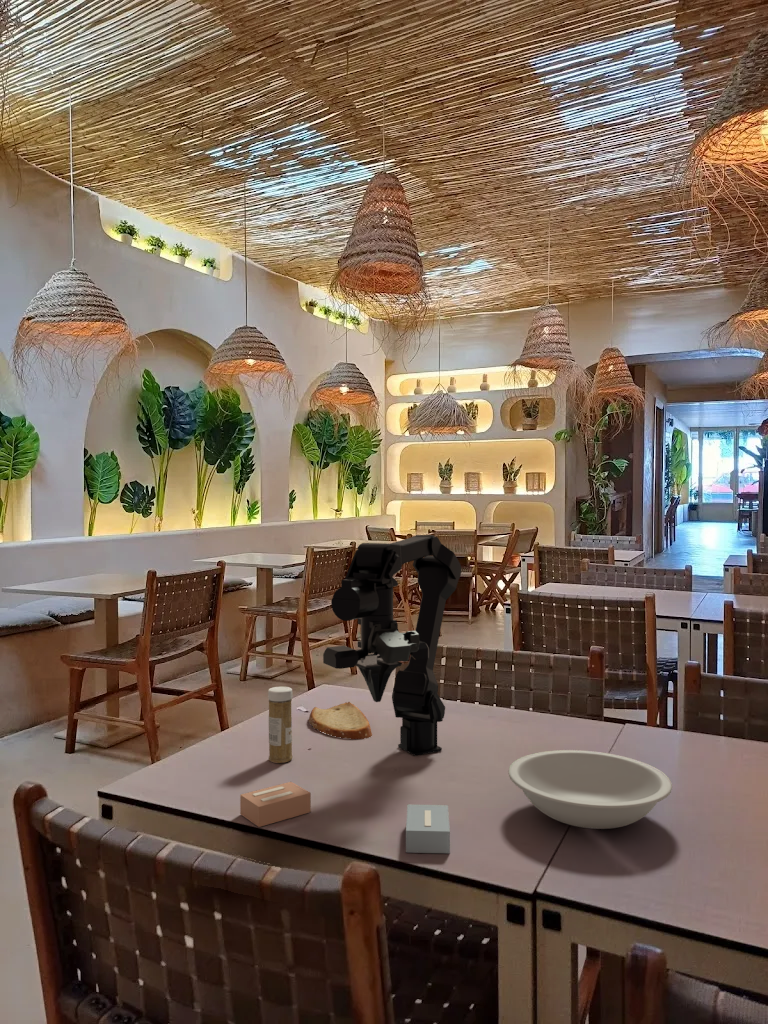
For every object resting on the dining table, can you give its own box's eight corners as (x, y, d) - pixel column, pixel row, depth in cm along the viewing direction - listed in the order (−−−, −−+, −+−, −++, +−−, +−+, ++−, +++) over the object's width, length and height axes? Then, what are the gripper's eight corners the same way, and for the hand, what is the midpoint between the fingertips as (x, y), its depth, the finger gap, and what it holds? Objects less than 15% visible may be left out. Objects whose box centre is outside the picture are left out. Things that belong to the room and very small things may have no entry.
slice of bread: (365, 743, 151) (365, 724, 151) (287, 733, 157) (287, 716, 157) (395, 719, 168) (395, 702, 168) (323, 712, 174) (323, 696, 174)
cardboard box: (290, 780, 120) (240, 793, 115) (310, 791, 115) (258, 805, 110) (290, 801, 120) (240, 814, 115) (310, 813, 115) (258, 828, 110)
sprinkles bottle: (296, 761, 139) (296, 689, 139) (274, 765, 136) (274, 692, 136) (285, 754, 143) (285, 684, 143) (264, 758, 140) (263, 687, 140)
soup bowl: (622, 784, 127) (622, 745, 127) (706, 846, 104) (706, 799, 104) (488, 793, 123) (487, 754, 123) (544, 860, 99) (543, 811, 99)
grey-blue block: (407, 803, 111) (405, 829, 102) (447, 804, 110) (449, 830, 101) (407, 825, 111) (405, 853, 102) (447, 826, 110) (449, 854, 101)
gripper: (350, 623, 120) (350, 720, 120) (446, 615, 129) (446, 705, 129) (321, 615, 130) (321, 704, 130) (412, 608, 139) (412, 691, 139)
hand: (377, 701), depth 132 cm, fingers closed
